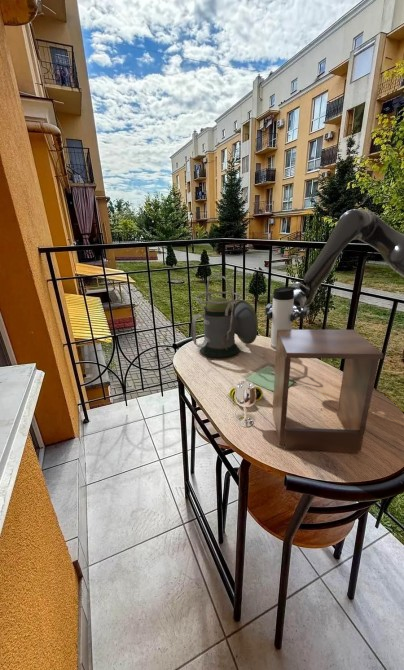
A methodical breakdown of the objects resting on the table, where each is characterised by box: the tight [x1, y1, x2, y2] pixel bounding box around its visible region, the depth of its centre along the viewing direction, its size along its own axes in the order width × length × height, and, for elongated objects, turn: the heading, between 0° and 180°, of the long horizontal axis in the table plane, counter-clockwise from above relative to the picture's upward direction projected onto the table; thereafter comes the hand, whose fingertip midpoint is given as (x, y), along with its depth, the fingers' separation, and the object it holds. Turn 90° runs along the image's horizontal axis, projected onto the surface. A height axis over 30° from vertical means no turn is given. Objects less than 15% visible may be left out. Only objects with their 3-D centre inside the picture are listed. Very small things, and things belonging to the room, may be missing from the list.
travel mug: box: [270, 286, 296, 351], centre depth 89 cm, size 6×7×20 cm
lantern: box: [190, 273, 259, 361], centre depth 122 cm, size 25×29×35 cm
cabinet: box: [272, 329, 384, 455], centre depth 71 cm, size 15×19×26 cm
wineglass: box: [235, 380, 257, 428], centre depth 78 cm, size 6×6×12 cm
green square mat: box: [244, 365, 296, 393], centre depth 102 cm, size 14×14×1 cm
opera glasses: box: [228, 385, 264, 405], centre depth 89 cm, size 10×5×5 cm, turn 106°
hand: (280, 317), depth 87 cm, fingers closed on travel mug, 6 cm apart
